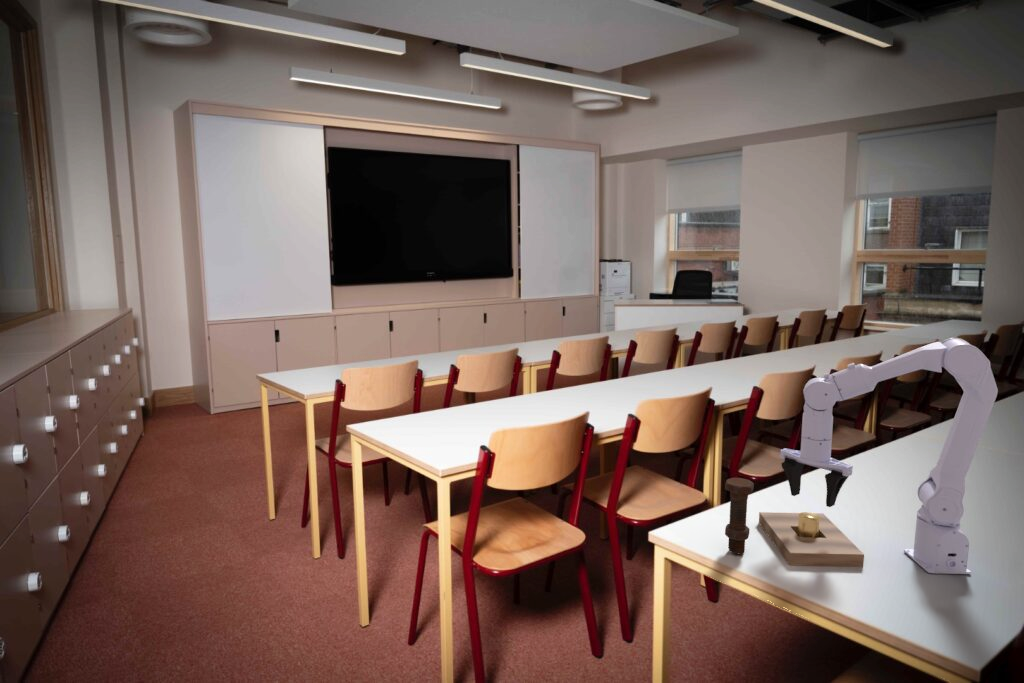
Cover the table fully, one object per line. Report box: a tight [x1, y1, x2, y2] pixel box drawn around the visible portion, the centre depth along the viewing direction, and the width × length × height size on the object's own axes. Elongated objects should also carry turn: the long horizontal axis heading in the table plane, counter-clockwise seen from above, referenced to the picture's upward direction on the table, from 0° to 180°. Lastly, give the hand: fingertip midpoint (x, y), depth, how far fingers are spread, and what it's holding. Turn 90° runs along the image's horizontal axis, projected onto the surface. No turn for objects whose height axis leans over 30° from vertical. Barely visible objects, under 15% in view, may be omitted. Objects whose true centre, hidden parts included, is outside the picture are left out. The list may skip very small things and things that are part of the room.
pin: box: [798, 512, 820, 538], centre depth 143 cm, size 4×4×6 cm
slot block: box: [758, 511, 865, 568], centre depth 143 cm, size 20×14×2 cm
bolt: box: [724, 477, 755, 556], centre depth 138 cm, size 6×5×15 cm
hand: (812, 499), depth 142 cm, fingers open, 7 cm apart
